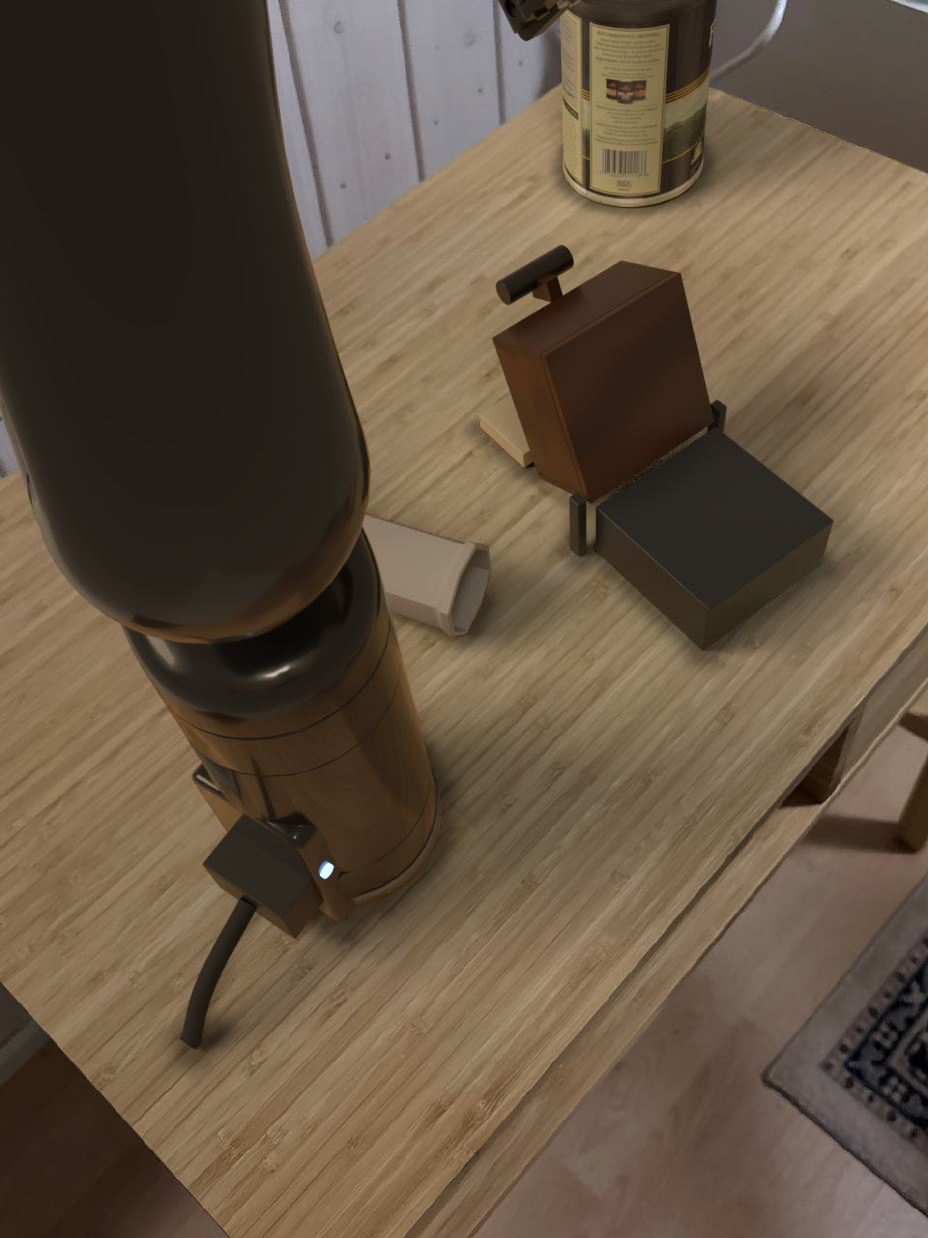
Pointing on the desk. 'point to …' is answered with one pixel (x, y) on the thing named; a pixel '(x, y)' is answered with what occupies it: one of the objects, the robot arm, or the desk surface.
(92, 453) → the robot arm
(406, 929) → the desk surface
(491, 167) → the desk surface
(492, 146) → the desk surface
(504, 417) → the block
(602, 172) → the coffee can
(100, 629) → the desk surface
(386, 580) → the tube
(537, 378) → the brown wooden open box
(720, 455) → the stand
